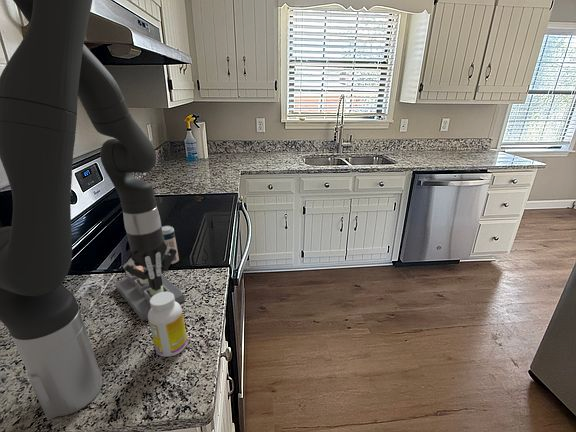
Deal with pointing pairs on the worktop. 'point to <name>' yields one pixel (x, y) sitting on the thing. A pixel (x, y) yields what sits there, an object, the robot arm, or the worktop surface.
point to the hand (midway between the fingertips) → (156, 288)
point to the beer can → (170, 241)
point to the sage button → (153, 292)
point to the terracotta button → (139, 269)
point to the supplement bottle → (167, 324)
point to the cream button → (143, 282)
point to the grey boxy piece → (143, 293)
